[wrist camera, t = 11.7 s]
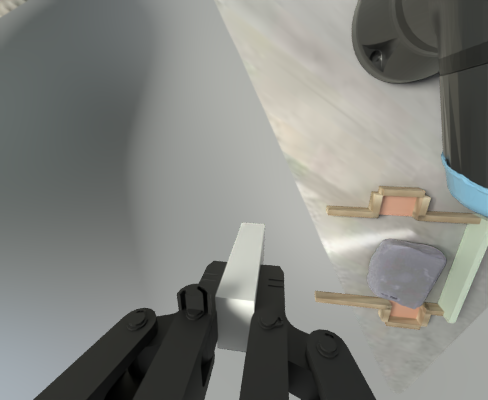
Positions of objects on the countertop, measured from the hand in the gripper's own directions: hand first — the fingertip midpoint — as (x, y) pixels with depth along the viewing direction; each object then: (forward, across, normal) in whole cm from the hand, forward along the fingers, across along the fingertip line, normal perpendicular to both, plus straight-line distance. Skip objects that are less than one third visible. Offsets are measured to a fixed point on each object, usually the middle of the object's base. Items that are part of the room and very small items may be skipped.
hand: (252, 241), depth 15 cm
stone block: (+24, +19, -17) cm, 35 cm away
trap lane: (+26, +22, -17) cm, 39 cm away
